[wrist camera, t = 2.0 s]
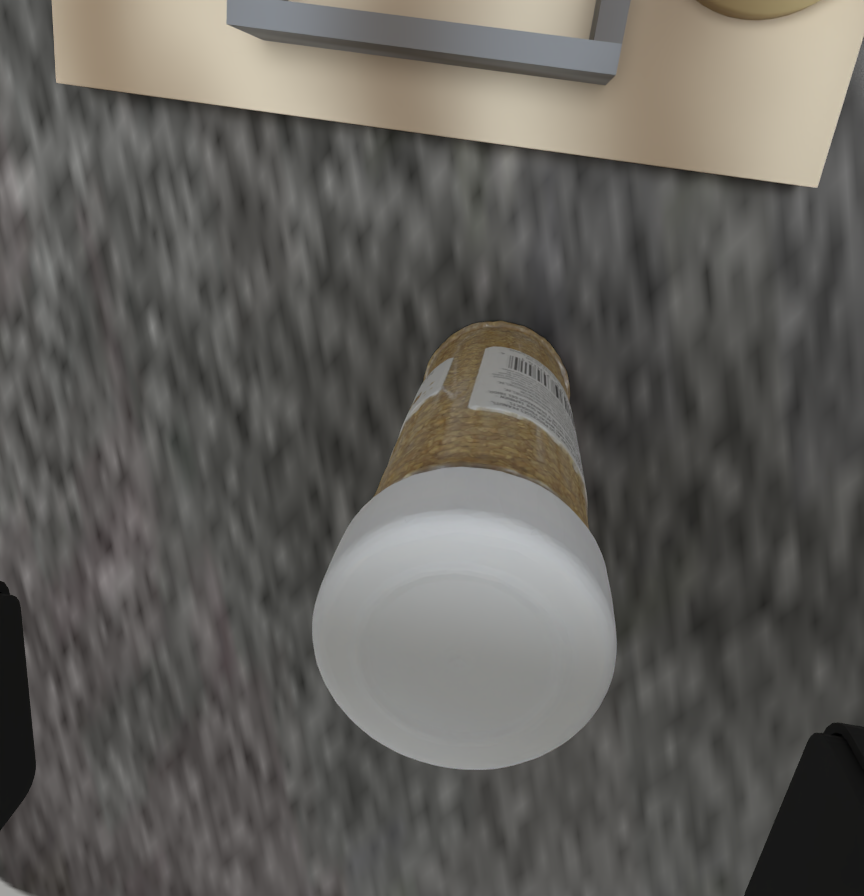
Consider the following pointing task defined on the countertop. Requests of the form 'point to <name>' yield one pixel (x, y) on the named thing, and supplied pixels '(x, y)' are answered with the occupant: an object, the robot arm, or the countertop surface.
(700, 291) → the countertop surface
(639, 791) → the countertop surface
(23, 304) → the countertop surface
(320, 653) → the sprinkles bottle
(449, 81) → the board
